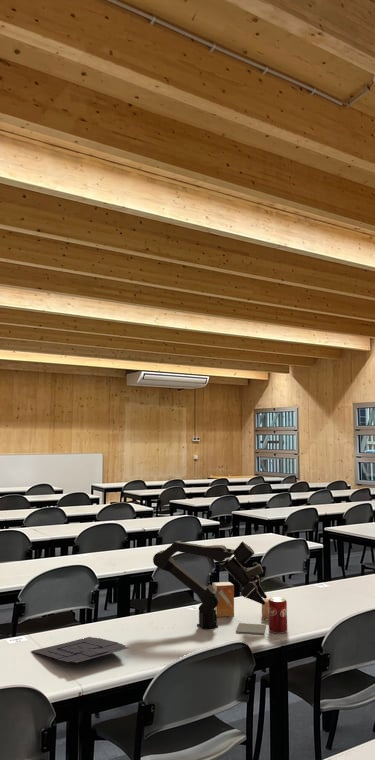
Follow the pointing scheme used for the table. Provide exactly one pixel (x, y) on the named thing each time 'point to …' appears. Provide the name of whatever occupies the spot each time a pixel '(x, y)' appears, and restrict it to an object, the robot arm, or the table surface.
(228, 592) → the small box
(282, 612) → the soda can
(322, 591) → the table surface
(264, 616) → the orange-brown round cylinder
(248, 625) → the coaster
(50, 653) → the dark grey flat square
